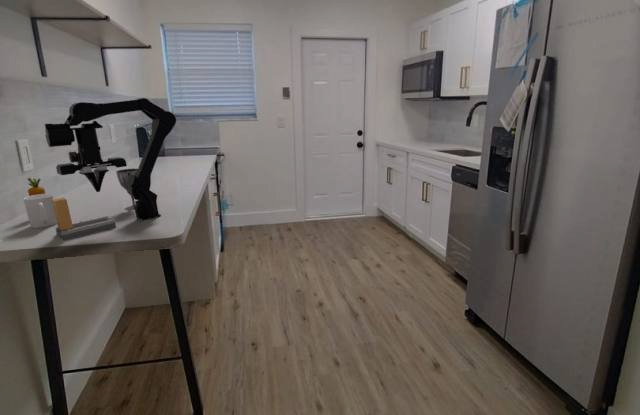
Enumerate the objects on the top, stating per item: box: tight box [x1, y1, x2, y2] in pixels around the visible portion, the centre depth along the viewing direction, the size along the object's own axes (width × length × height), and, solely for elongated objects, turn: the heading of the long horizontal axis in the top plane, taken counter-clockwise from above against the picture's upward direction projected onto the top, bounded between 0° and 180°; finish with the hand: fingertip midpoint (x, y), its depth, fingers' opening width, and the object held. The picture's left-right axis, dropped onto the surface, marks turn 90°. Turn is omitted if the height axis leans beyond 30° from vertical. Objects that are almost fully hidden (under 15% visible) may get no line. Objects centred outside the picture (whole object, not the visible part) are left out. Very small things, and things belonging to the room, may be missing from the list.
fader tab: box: [51, 197, 75, 233], centre depth 115 cm, size 4×5×10 cm
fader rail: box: [55, 215, 117, 241], centre depth 121 cm, size 15×8×3 cm, turn 137°
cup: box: [22, 193, 57, 229], centre depth 127 cm, size 8×12×10 cm
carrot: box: [27, 177, 46, 196], centre depth 138 cm, size 5×5×15 cm
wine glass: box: [115, 168, 138, 211], centre depth 145 cm, size 8×8×15 cm
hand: (98, 191), depth 121 cm, fingers closed
